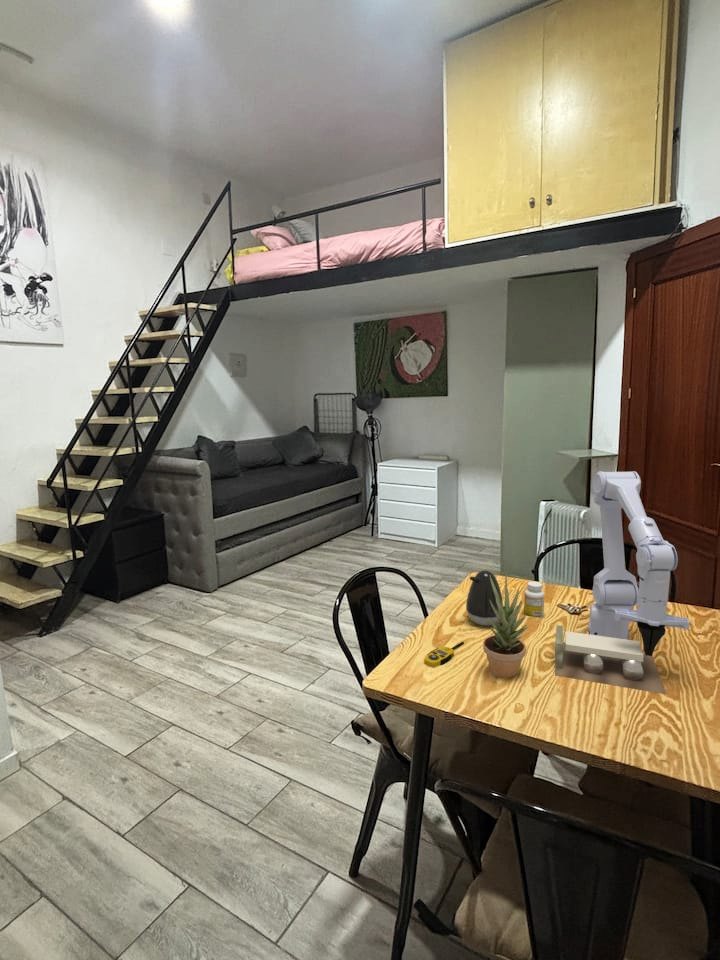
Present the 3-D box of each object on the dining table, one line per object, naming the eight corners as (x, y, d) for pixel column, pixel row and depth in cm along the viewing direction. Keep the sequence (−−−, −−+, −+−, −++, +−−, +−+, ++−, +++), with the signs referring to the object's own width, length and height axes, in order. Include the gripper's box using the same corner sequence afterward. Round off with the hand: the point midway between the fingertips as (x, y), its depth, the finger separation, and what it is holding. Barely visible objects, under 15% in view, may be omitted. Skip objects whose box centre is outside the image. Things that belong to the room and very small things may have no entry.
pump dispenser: (458, 618, 148) (458, 568, 145) (486, 611, 152) (487, 562, 150) (481, 633, 139) (482, 579, 136) (510, 624, 143) (512, 573, 141)
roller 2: (634, 684, 113) (619, 671, 114) (629, 661, 123) (614, 650, 123) (647, 672, 112) (632, 660, 113) (641, 650, 121) (626, 639, 122)
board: (554, 679, 116) (556, 650, 115) (555, 644, 132) (556, 619, 131) (665, 698, 108) (668, 667, 107) (652, 659, 124) (654, 632, 123)
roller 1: (595, 677, 116) (580, 665, 117) (592, 656, 125) (578, 645, 126) (607, 665, 115) (591, 653, 116) (603, 645, 124) (589, 634, 125)
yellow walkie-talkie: (420, 656, 124) (455, 635, 134) (420, 663, 124) (455, 641, 135) (436, 663, 121) (471, 641, 131) (436, 671, 121) (471, 648, 131)
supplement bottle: (529, 609, 153) (530, 578, 151) (546, 615, 149) (548, 583, 147) (520, 615, 149) (521, 583, 147) (537, 621, 145) (539, 588, 144)
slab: (565, 650, 119) (565, 644, 119) (565, 636, 126) (565, 631, 125) (643, 661, 113) (643, 655, 113) (638, 647, 120) (639, 641, 120)
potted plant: (474, 668, 121) (476, 568, 117) (506, 659, 125) (509, 562, 121) (501, 690, 112) (505, 583, 108) (535, 680, 116) (540, 576, 112)
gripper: (618, 599, 113) (614, 656, 115) (695, 608, 108) (689, 668, 110) (615, 588, 119) (611, 642, 121) (687, 596, 114) (681, 652, 116)
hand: (647, 653), depth 116 cm, fingers closed
